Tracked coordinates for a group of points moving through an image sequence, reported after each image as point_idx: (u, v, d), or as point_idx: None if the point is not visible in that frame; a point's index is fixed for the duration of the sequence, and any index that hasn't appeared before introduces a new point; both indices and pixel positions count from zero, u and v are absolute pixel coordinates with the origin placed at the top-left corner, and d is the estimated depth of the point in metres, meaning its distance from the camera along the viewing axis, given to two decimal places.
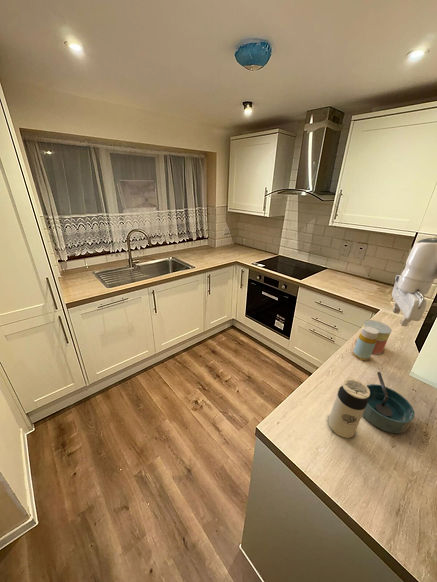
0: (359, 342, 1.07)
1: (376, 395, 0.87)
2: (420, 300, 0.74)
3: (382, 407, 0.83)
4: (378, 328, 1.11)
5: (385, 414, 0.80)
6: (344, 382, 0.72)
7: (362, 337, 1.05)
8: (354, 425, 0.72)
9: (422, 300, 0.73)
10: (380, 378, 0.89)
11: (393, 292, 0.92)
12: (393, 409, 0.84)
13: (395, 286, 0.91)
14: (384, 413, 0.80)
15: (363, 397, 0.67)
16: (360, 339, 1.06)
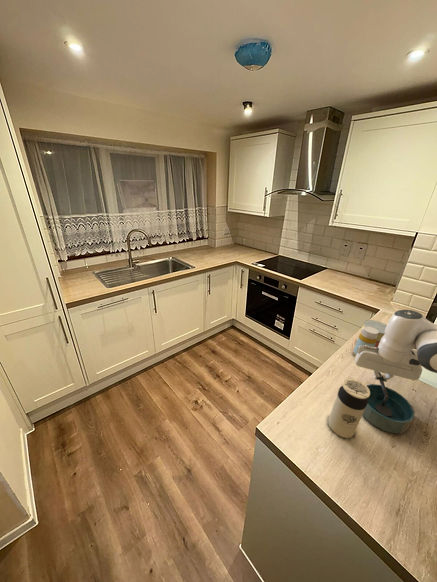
0: (359, 342, 1.07)
1: (376, 395, 0.87)
2: None
3: (382, 407, 0.83)
4: (378, 328, 1.11)
5: (385, 414, 0.80)
6: (344, 382, 0.72)
7: (362, 337, 1.05)
8: (354, 425, 0.72)
9: (359, 346, 0.88)
10: (380, 378, 0.89)
11: None
12: (393, 409, 0.84)
13: None
14: (384, 413, 0.80)
15: (363, 397, 0.67)
16: (360, 339, 1.06)
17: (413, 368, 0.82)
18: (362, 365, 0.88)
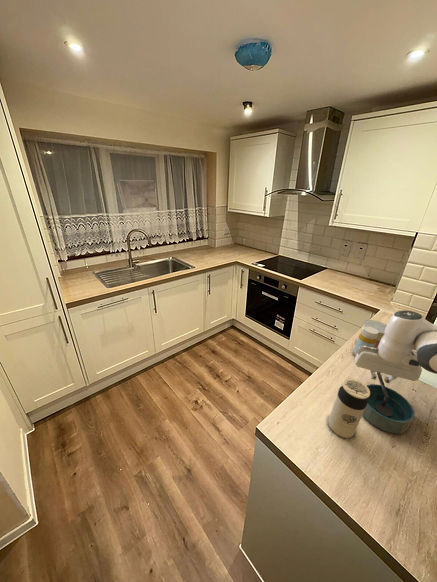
0: (359, 342, 1.07)
1: (376, 395, 0.87)
2: None
3: (382, 407, 0.82)
4: (378, 328, 1.11)
5: (385, 414, 0.80)
6: (344, 382, 0.72)
7: (362, 337, 1.05)
8: (354, 425, 0.72)
9: (359, 347, 0.88)
10: (380, 378, 0.89)
11: None
12: (393, 409, 0.84)
13: None
14: (384, 413, 0.80)
15: (363, 397, 0.67)
16: (360, 339, 1.06)
17: (413, 369, 0.82)
18: (362, 366, 0.88)
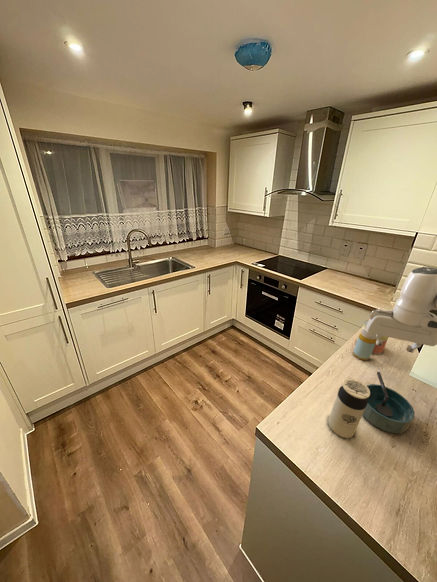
0: (359, 342, 1.07)
1: (376, 395, 0.87)
2: None
3: (382, 407, 0.82)
4: None
5: (385, 414, 0.80)
6: (344, 382, 0.72)
7: (362, 337, 1.05)
8: (354, 425, 0.72)
9: (372, 311, 0.81)
10: (380, 378, 0.89)
11: None
12: (393, 409, 0.84)
13: None
14: (384, 413, 0.80)
15: (363, 397, 0.67)
16: (360, 339, 1.06)
17: (431, 332, 0.75)
18: (375, 332, 0.82)
